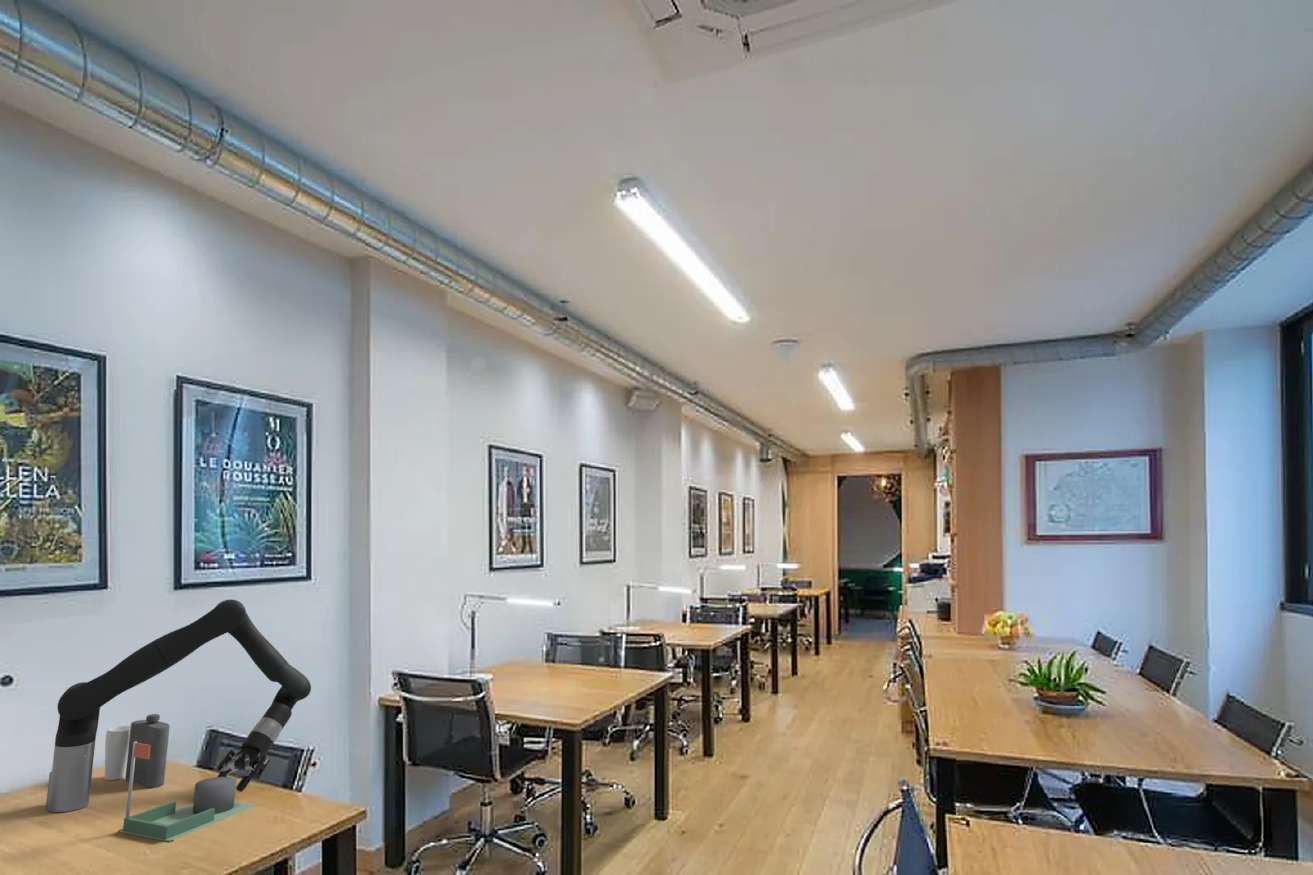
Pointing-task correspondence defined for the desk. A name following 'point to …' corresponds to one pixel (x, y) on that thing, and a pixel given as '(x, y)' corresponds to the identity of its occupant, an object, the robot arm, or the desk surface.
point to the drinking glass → (116, 752)
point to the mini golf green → (169, 812)
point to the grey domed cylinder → (214, 794)
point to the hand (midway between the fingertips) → (227, 788)
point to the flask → (157, 737)
